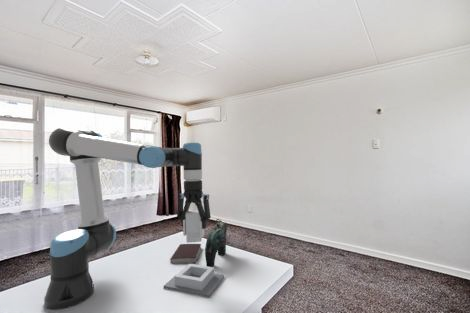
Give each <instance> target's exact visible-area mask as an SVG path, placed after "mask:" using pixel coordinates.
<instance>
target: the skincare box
mask: <svg viewBox="0 0 470 313" xmlns="http://www.w3.org/2000/svg"><path fill="white" fill-rule="evenodd" d="M185 215H186V235H185V236H186V244H189V243H201V242H202V239H203V237H202V238H200V221H201V217H200V215H199V212H198V210H188V211H187V212H186V214H185Z"/></svg>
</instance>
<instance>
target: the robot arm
mask: <svg viewBox="0 0 470 313" xmlns="http://www.w3.org/2000/svg"><path fill="white" fill-rule="evenodd" d="M48 144H49V146H50V149H51V150H52V151H53V152H55V153H56V154H58V155H60V156H65V157H69V161H70V163H71V164H73V165H74V168H75V176H76V183H77V184H76V185H77V192H78V200H79V202H78V203H79V211H80V218H81V221H80V222H79V224H78V225H77V228H76V229H71V230H69V231H67V230H66V231H65V232H61V233H59V234H58V235H56V236H55V237H54V238H53V239H52V240H51V242H50V249H49V254H50V255H49V257H50V258H49V263H50V264H49V265H50V268H49V269H50V281H49V285H48V286H47V287H48V288H47V290H46V293H45V295H44V301H43V302H44V304H43V305H44V307H45V308H46V309H48V310H49V309H50V310H62V309H65V308H70V307H73V306H75V305H78V304H81V303H83V302H84V301H86V300H87V299H89V298H90V297H91V296H92V295H94V292H95V283H94V281H93V278H92V276H91V274H90V269H89V267H90V265H89V262H90V260H91V259H92V258H94V257H96V256H97V255H99V254H100V253H103V252H105V251H106V250H107V249H109V248H110V247H111V246H112V245H113V244H114V242H115V241H116V238H117V231H116V228H115V226H114V225H113V224H112V222H111V223H110V219H109V217H106V216H105V210H104V209H105V208H104V202H103V201H104V200H103V193H102V192H103V191H102V184H101V175H100V167H99V162H100V161H101V160H102V159H105V160H110V161H111V160H112V161H118V162H122V163H123V162H124V163H130V164H134V165H140V166H144V167H145V168H149V169H150V168H151V169H157V168H165V167H177V166H178V167H183V180H184V181H183V190H184V191H183V193H179V194H177V199H178V201H177V210H176V211H177V213H176V218H178V219H180V220H181V222H180V223H181V227H182V236H183V237H185V236H186V215H185V214H186V212H187V211H190V207H191V204H192V203H193V204H195V206H196V208H197V211H198V212H199V215H200V217H201V221H200V238H202V239H203V237H204V236H205V234H206V233H205V231H206V230H205V229H207V221H208V220H209V219H211V209H210V201H209V200H210V194H205V193H204V192H203V181H202V179H203V168H202V166H203V163H202V161H203V159H202V158H203V152H202V145H201V143H199V142H183V144H182V147H161V146H155V145H149V144H141V143H136V142H129V141H123V140H118V139H112V138H106V137H103V136H102V135H101V134H100V132H97V131H94V130H92V129H84V128H83V129H82V128H78V127H72V126H63V127H59V128H56V129H55V130H53V131H52V132H51V134H50V135H49V138H48ZM202 200H203V201H202Z"/></svg>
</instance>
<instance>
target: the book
mask: <svg viewBox="0 0 470 313" xmlns="http://www.w3.org/2000/svg"><path fill="white" fill-rule="evenodd" d="M201 246H202V244H201V243H181V244H179V246H178V247H177V248H176V250H175V251H174V253H173V254H172V256H171V257H170V259H169V260H170V264H196V263H197V260H198V257H199V254H200V252H201V250H202V247H201Z"/></svg>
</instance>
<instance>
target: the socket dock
mask: <svg viewBox="0 0 470 313" xmlns="http://www.w3.org/2000/svg"><path fill="white" fill-rule="evenodd" d="M225 276H226V275H224V274H219V273H215V267H214V266H213V267H208V266H207V265H202V264H196V263H188V264H187V265H186V266H185V267H184V268H182V269H181V270H180V271H179V272H177V274H176V275H174V276H173V277H172V278H171V279H170V280H169V281H167V282H166V283H165V284H163V289H164V290H165V289H166V290H171V291H176V292H179V293H184V294H190V295H195V296H199V297H205V298H211V296H212V295H213V294H214V293H215V291H216V289H217V288H219V286H220V284H221V283H222V282H223V280H224V279H225Z"/></svg>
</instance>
